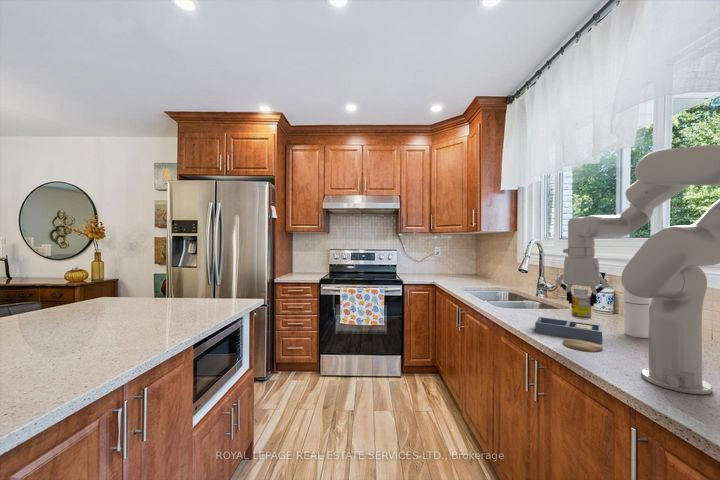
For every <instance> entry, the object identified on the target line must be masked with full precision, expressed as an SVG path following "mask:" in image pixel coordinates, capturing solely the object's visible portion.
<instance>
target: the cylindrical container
mask: <svg viewBox="0 0 720 480" xmlns="http://www.w3.org/2000/svg"><path fill="white" fill-rule="evenodd" d="M623 288H624V287H623ZM623 295H624V296H623V297H624V298H623V300H624V301H623V305H624V308H623V313H624V314H623V315H624V317H623V318H624V323H623V324H624V334H625V335H626V336H629V337H634V338H641V339H642V338H643V339H644V338H645V339H649V333H648V312H649V306H650V298H642V297H638V296H635V295H632V294H631V293H629V292H628V291H627V290H626V289H625V288H624V289H623Z"/></svg>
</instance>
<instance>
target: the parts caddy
mask: <svg viewBox="0 0 720 480" xmlns="http://www.w3.org/2000/svg"><path fill="white" fill-rule="evenodd" d="M534 323H535V326H534V330H535V331H534V332H535V333H540V334H545V335H551V336H556V337H564V338H569V339H576V340H583V341H588V342H592V343H601V344H603V325H602V324H597V323H596V324H595V323H589V322H588V323H587V322H580V321H573V320H566V319H559V318H550V317H542V316H539V317H538V319H536V321H535V322H534ZM576 324H581V325H588V326H592V330H590V329H583V328H576V327H575V326H576Z"/></svg>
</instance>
